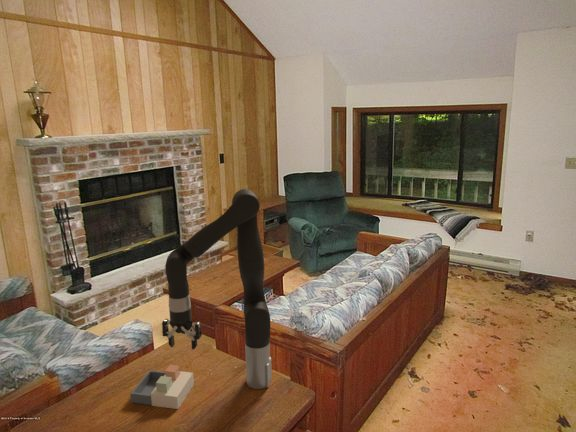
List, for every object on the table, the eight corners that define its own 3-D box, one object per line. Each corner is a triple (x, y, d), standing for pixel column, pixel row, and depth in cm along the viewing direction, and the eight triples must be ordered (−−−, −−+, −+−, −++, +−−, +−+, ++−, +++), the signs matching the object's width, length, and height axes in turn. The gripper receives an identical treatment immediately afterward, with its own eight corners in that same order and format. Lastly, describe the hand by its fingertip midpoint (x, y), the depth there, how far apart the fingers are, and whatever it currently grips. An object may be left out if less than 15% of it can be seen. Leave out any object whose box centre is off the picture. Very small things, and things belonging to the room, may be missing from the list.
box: (169, 381, 163) (168, 372, 162) (151, 405, 150) (150, 396, 149) (150, 379, 165) (149, 370, 164) (131, 403, 151) (130, 393, 150)
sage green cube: (172, 385, 153) (171, 377, 152) (167, 392, 149) (166, 384, 148) (161, 384, 154) (161, 375, 153) (156, 391, 150) (155, 382, 149)
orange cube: (180, 373, 160) (179, 365, 159) (175, 380, 156) (175, 372, 155) (170, 372, 160) (169, 364, 159) (165, 379, 157) (164, 371, 156)
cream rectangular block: (193, 384, 162) (193, 372, 160) (178, 409, 148) (177, 396, 147) (169, 381, 163) (168, 370, 162) (151, 405, 150) (150, 393, 149)
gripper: (202, 303, 152) (205, 343, 156) (166, 300, 155) (169, 339, 159) (194, 313, 145) (197, 354, 149) (156, 309, 147) (160, 351, 151)
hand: (183, 347), depth 154 cm, fingers open, 8 cm apart
